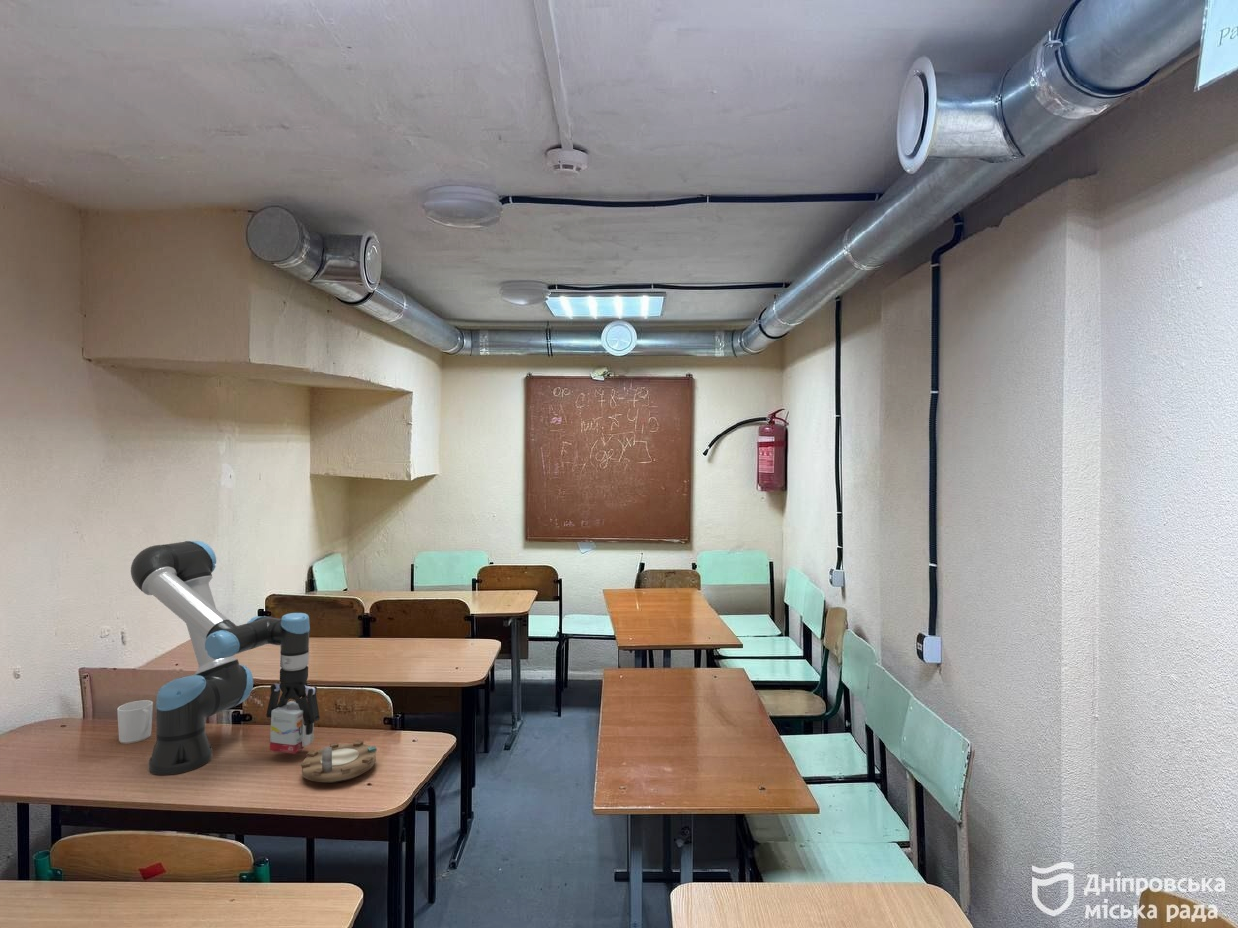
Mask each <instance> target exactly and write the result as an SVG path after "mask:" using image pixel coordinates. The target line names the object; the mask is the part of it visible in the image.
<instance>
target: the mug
mask: <svg viewBox="0 0 1238 928" xmlns="http://www.w3.org/2000/svg"><path fill="white" fill-rule="evenodd" d="M153 707H154V701H152V700H149V699H148V700H147V699H143V700H136V701H135V700H134V701H130V702H126V703H124V704H122V705H120V706H118V707H117V708H116V709H117V711H116V712H117V726H118V728H117V730H118V742H119V743H120V744H122V745H123V744H125V745H126V744H127V745H128V744H135V743H139V742H142V741H146V740H147V739H149V738H150V737H151V736H152V725H153V709H154V708H153Z"/></svg>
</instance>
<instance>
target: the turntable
mask: <svg viewBox="0 0 1238 928" xmlns="http://www.w3.org/2000/svg"><path fill="white" fill-rule="evenodd" d="M376 752H377V746H376V745H373V746H370V745H367V744H364V740H359V739H358V740H356V741H354V742H352V743H341V744H339V742H338V741H334V742H330V743H329V746H325V747H323V748H320V749H319V750H310V751H308V752H307V753H306V758H304V759H303V761H302V762H300V767H301V775H302V776H303V777H304V778H305V779H306V780H309V781H312V782H317V783H324V782H335V781H341V780H346V779H350V778H352V779H354V778H356V777H358V776H361V775H362V774H364V773H366V772H368V771H369V770H370V769H372V768H373V766H375V763H376V761H377V753H376ZM353 777H354V778H353ZM350 780H351V779H350Z"/></svg>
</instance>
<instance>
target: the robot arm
mask: <svg viewBox="0 0 1238 928" xmlns="http://www.w3.org/2000/svg"><path fill="white" fill-rule="evenodd" d="M216 564H217V557H216V554H215V551H214V550H213V548H212V547H211V546H210V545H209V544H207V543H205V542H203V541H200V540H185V541H179V542H174V543H173V542H172V543H166V544H157V545H152V546H148V547H146V548H143V550H140V552H139V553H138V554H137V555H136V556H135V557H134V559H133V560H132V562H131V566H130V577H131V579H132V582H133V583H134V584H135V586H136V587H137V588H138V590H140V591H141V592H143V593H144V595H147V596H153V597H155V598H156V599H157V600H158V601H159V602H160V603H162V604H163V605H164V606H165V607H166V608H168V609H169V610H170V611H171V612H172V613H173V614H175V615H176V616H177V617H178V618H180V619H181V620H182V621H183V622H184V623H185V625H186V627H187V632H188V635H189V639H190V642H191V646H192V647H193V651H194V655H195V658H196V661H197V665H198V668H197V669H196V672H195V673H194V675H186V676H185V677H177V678H175V679H173V680H171V681H168V682H166V683H164V684H163V685H162V686H161V687H160V688H159V689H158V692H157V693H156V694H157V695H156V703H155V708H156V742H155V743H154V747H153V749H152V753H151V756H150V758H149V760H148V772H149V773H151V774H153V775H157V776H172V775H178V774H182V773H186V772H190V771H192V770H195V769H198V768H200V767H203V766H204V765H205V764H207V763H209V762H210V761H211V759H212V758H213V748H212V745H211V744H210V741H209V737H208V734H207V733H206V719H207V718H209V717H211V716H215V715H217V714H219V713H222V712H223V711H227V710H228V709H232V708H235V707H236V706H238V705H240V704H242V703H244V702H245V701H246V700H247V699H248V698H250V695H251V692H252V691H253V686H254V676H253V673H252V671H251V669H249V668H248V667H247V665H243V664H240V663H239V659H238V658H237V657H234V656H235V655H237V654H240V653H244V652H246V651H249V650H250V651H251V650H253V649H255V648H259V647H262V646H265V645H272V646H273V645H274V646H280V651H279V652H280V660H279V663H280V664H279V666H280V670H279V681H280V682H278V681H277V682H275V683H273V684H271V685H270V695H269V701H268V706H267V710H266V714H265V715H266V717H267V718H270V719H271V712H272V710H274V709H276V708H278V707H282V706H284V705H286V704H287V703H288V702H289V700H292V701H296V703H298V705H299V708H300V710H303V718H304V721H305V723H304V724H303V727H302V747H304V748H306V747H307V746H309V745H310V744H311V743H310V736H311V733H312V732H313V733H314V731H313V723H314V724H315V722H318V721H319V720H320V718H321V717H320V711H319V704H318V698H317V692H318V688H317V686H313V687H311V686H309V684H308V679H309V666H308V665H309V662H310V661H309V659H310V657H309V656H310V654H309V653H310V652H309V651H310V647H309V645H310V630H311V625H310V624H311V623H310V617H309V614H307V613H304V612H290V613H286V614H284V615H282V616H281V618H277V617H270V616H265V615H263V616H253V617H252V618H251V619H250V620H248V621H247V623H244V624H241V625H236V624H235V623H234V622H233V621H231V620H230V619H229V618H227V616H225V615H224V614H223V613H222V612H221V611H219V610H218V609H217V607H216V603H215V601H214V596H213V594H212V591H211V587H210V582H211V580H212V579H213V574H212V573H213V572H214V571H215V569H216V567H217V566H216ZM281 692H282V693H281ZM280 694H281V695H280ZM309 743H310V744H309ZM308 744H309V745H308ZM306 745H307V746H306ZM305 746H306V747H305Z"/></svg>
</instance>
